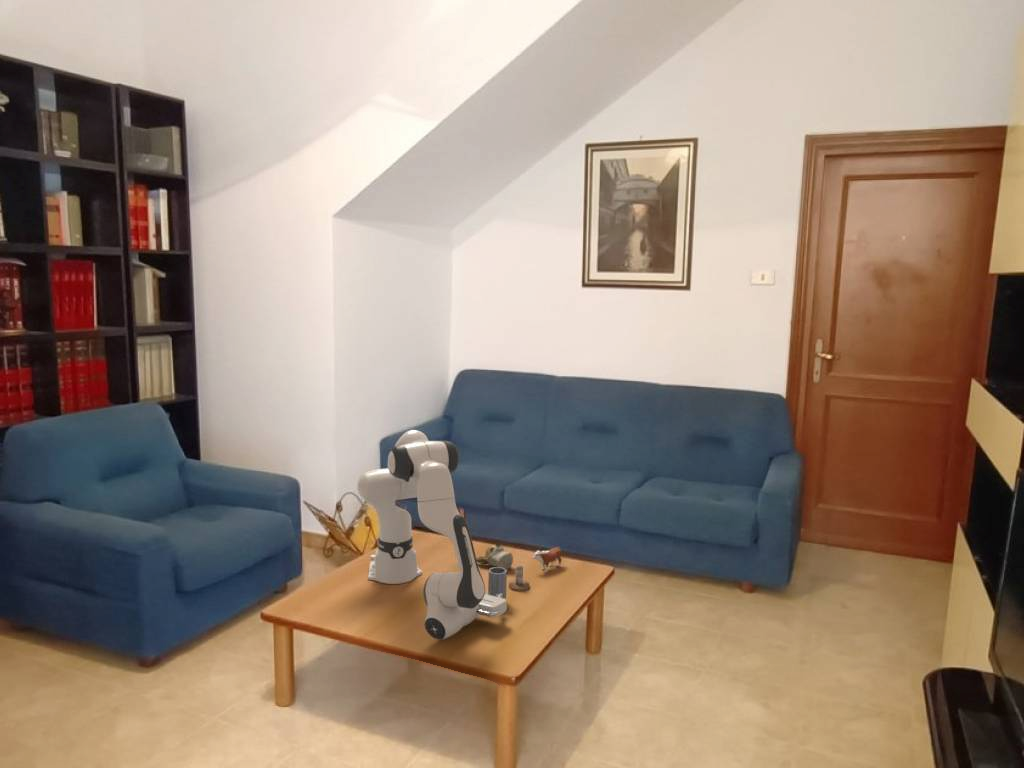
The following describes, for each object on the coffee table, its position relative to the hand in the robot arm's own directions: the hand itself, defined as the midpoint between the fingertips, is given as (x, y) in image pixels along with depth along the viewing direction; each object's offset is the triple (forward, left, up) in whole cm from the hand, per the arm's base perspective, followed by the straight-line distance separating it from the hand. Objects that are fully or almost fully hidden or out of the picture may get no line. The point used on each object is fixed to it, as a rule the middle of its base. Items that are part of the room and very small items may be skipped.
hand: (487, 592), depth 244 cm
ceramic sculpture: (-34, +13, -6) cm, 37 cm away
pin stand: (-14, +15, -6) cm, 22 cm away
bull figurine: (-26, +30, -6) cm, 41 cm away
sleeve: (-4, +4, -6) cm, 8 cm away
